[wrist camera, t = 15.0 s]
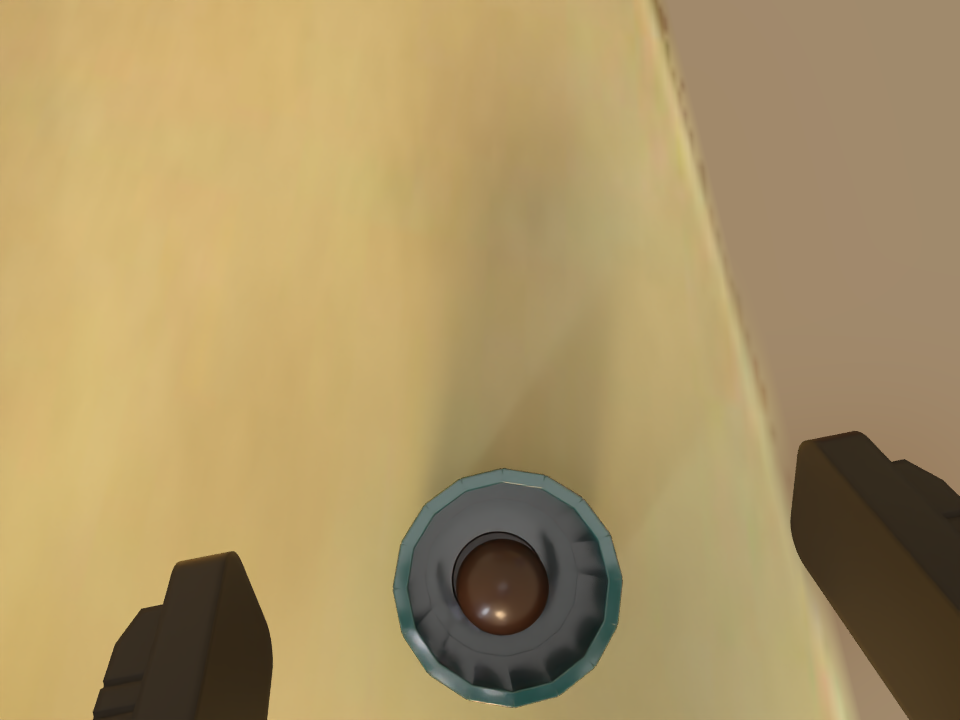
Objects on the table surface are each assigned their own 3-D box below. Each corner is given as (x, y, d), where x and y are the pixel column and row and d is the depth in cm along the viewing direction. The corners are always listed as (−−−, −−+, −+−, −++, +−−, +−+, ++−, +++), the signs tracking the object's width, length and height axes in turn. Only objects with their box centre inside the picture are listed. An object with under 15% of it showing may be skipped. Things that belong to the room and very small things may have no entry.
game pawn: (445, 617, 33) (432, 642, 25) (460, 524, 34) (453, 516, 25) (536, 633, 33) (556, 663, 24) (549, 539, 34) (572, 535, 25)
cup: (402, 650, 34) (375, 684, 25) (432, 477, 36) (416, 454, 27) (574, 678, 33) (607, 724, 25) (595, 503, 35) (633, 488, 26)
